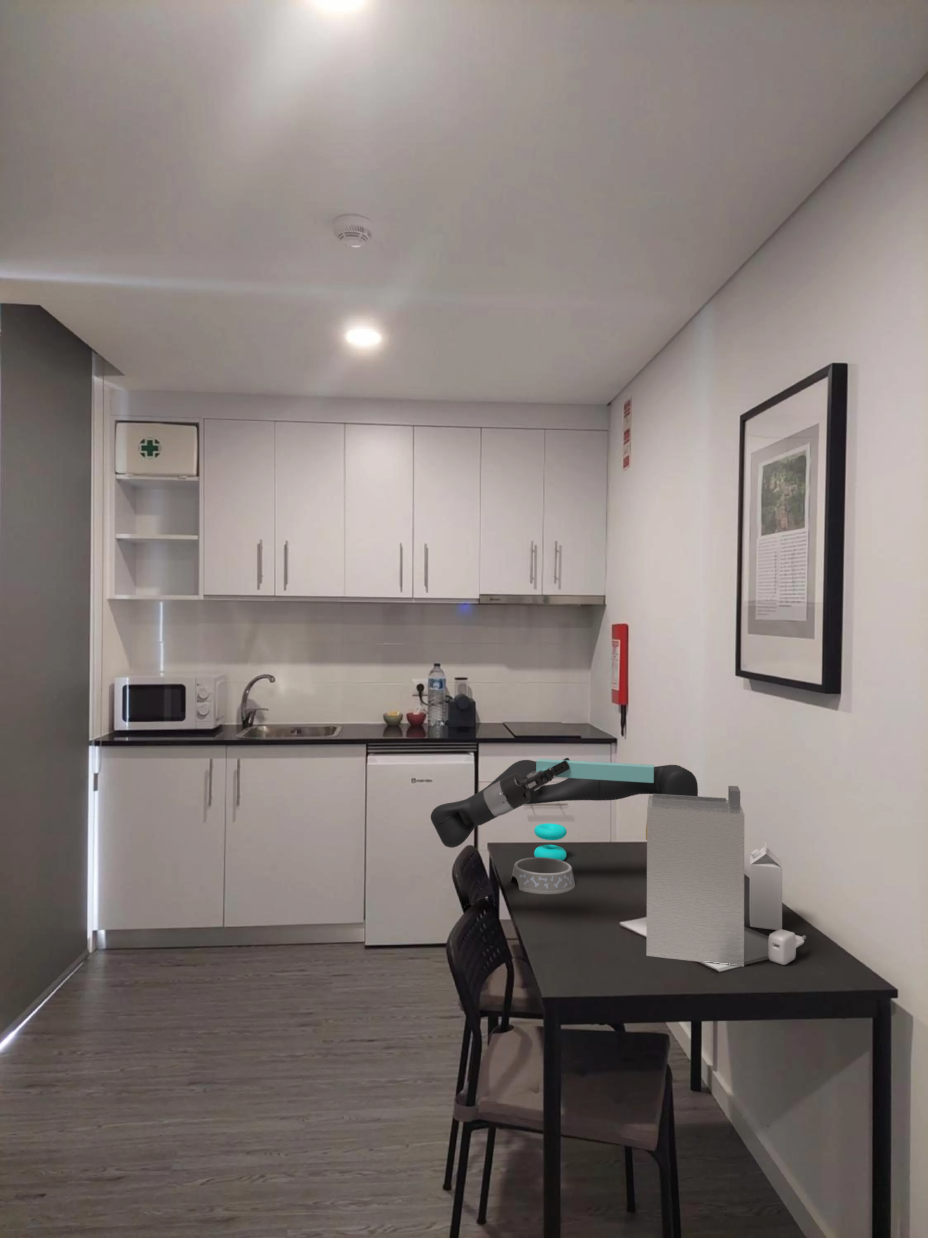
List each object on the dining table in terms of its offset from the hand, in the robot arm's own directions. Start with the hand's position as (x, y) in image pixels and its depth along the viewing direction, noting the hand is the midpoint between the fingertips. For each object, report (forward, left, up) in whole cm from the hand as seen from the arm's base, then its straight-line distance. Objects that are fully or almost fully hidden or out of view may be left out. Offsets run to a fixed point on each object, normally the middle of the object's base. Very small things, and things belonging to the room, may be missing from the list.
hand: (568, 763), depth 184 cm
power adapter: (-29, +38, -40) cm, 62 cm away
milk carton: (-42, +24, -40) cm, 63 cm away
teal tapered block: (-4, +5, -3) cm, 7 cm away
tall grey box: (-16, +24, -39) cm, 49 cm away
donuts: (-35, -46, -40) cm, 70 cm away
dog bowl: (-18, -29, -40) cm, 53 cm away
